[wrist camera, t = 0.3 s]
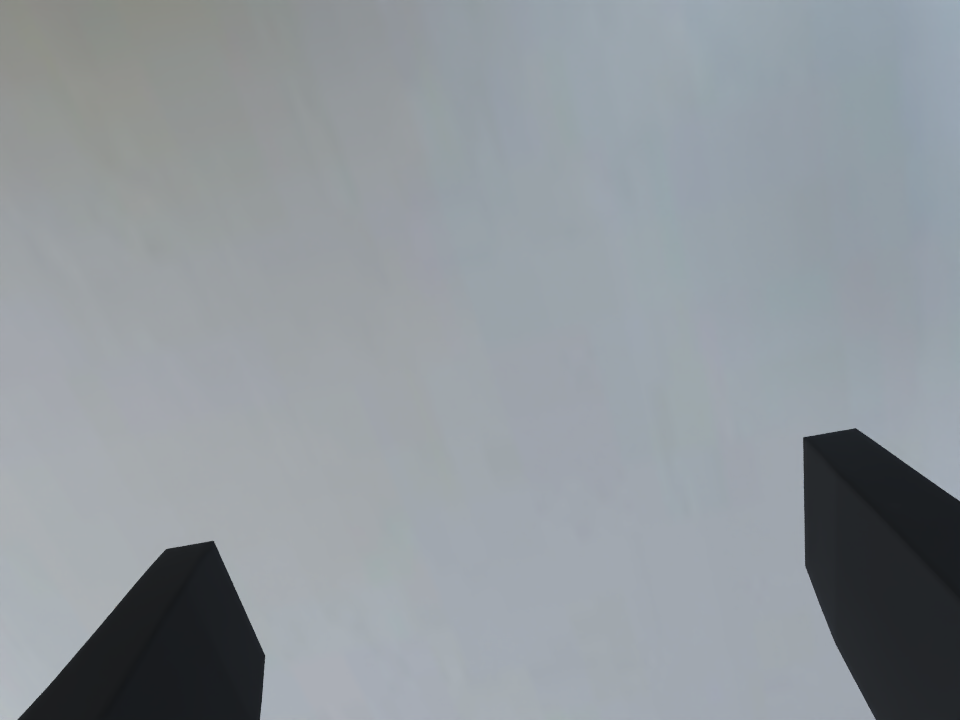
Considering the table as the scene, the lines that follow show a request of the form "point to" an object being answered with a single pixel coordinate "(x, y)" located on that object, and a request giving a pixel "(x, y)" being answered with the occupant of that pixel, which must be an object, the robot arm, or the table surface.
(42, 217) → the table surface
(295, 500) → the table surface
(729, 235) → the table surface
